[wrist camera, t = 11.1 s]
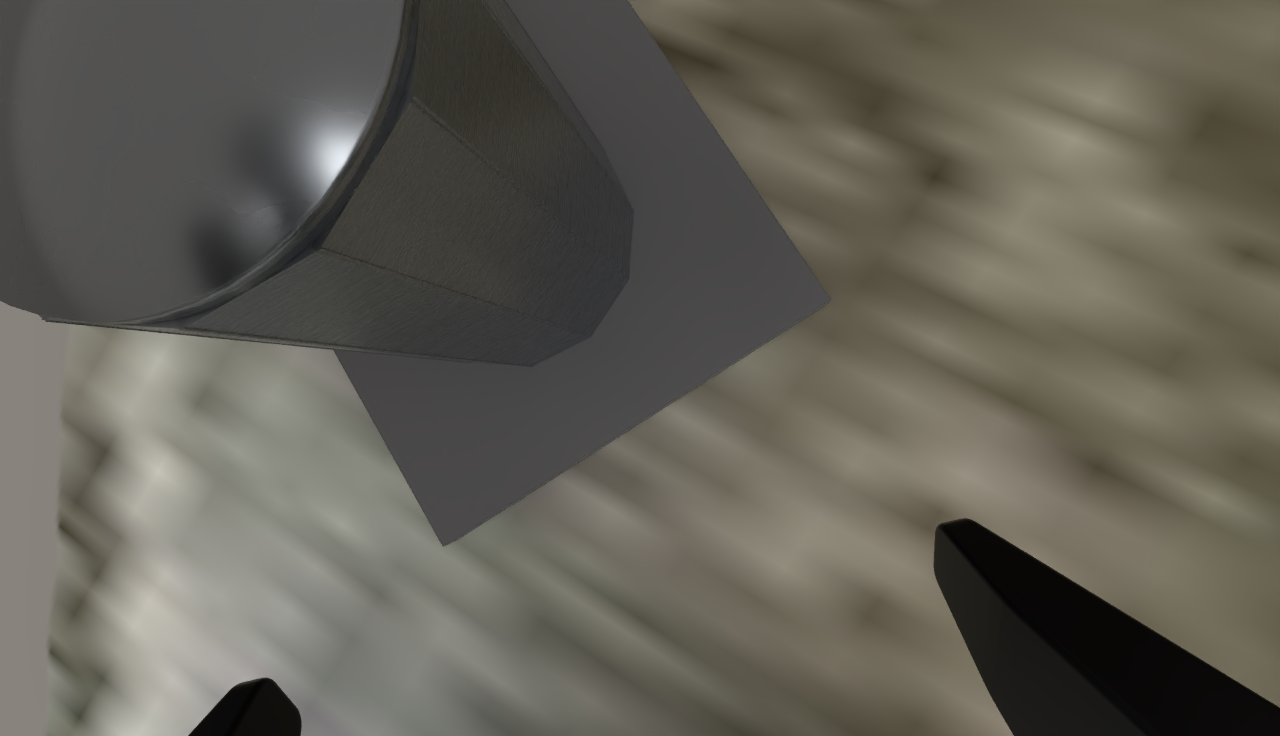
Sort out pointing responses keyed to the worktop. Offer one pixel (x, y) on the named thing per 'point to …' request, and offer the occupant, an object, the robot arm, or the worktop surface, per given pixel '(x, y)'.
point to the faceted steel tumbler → (304, 177)
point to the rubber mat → (643, 311)
